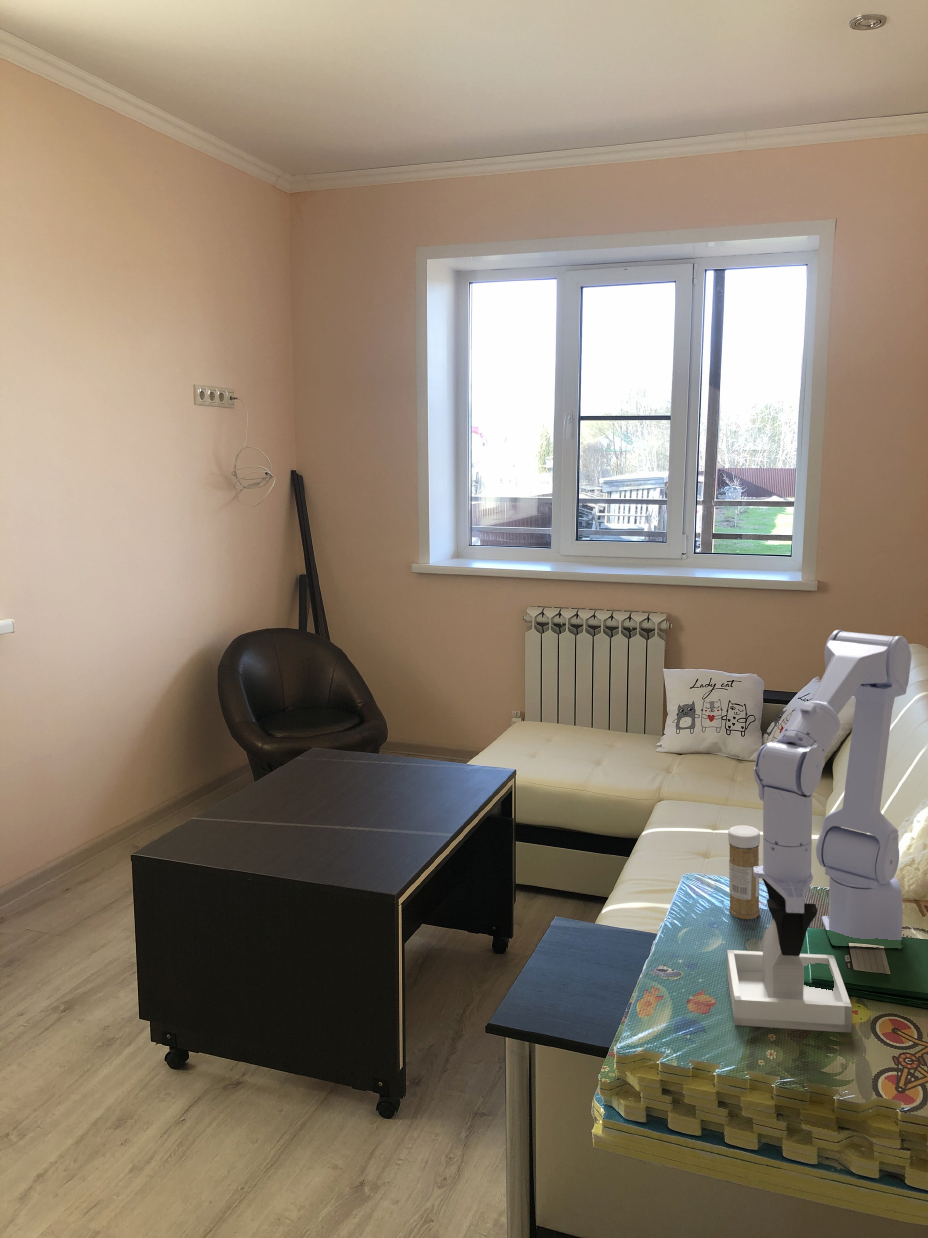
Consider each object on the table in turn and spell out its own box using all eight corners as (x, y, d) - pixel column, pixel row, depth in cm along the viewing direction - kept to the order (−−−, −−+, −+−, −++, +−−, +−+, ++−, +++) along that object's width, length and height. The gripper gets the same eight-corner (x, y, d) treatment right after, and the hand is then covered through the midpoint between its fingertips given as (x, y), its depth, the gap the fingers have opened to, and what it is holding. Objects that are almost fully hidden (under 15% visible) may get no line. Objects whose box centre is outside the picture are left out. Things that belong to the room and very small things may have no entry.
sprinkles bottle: (766, 914, 143) (766, 830, 141) (745, 923, 141) (745, 839, 138) (742, 903, 147) (742, 821, 144) (722, 912, 144) (721, 829, 142)
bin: (833, 979, 125) (833, 955, 125) (851, 1032, 114) (851, 1006, 114) (727, 973, 128) (727, 950, 127) (734, 1025, 117) (734, 999, 116)
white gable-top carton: (772, 1009, 118) (773, 936, 116) (762, 979, 124) (762, 909, 123) (803, 1010, 117) (804, 936, 116) (791, 980, 124) (792, 909, 122)
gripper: (747, 814, 125) (747, 909, 127) (760, 862, 111) (759, 967, 113) (803, 815, 123) (802, 911, 126) (823, 864, 109) (821, 971, 112)
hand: (786, 938), depth 119 cm, fingers open, 7 cm apart
